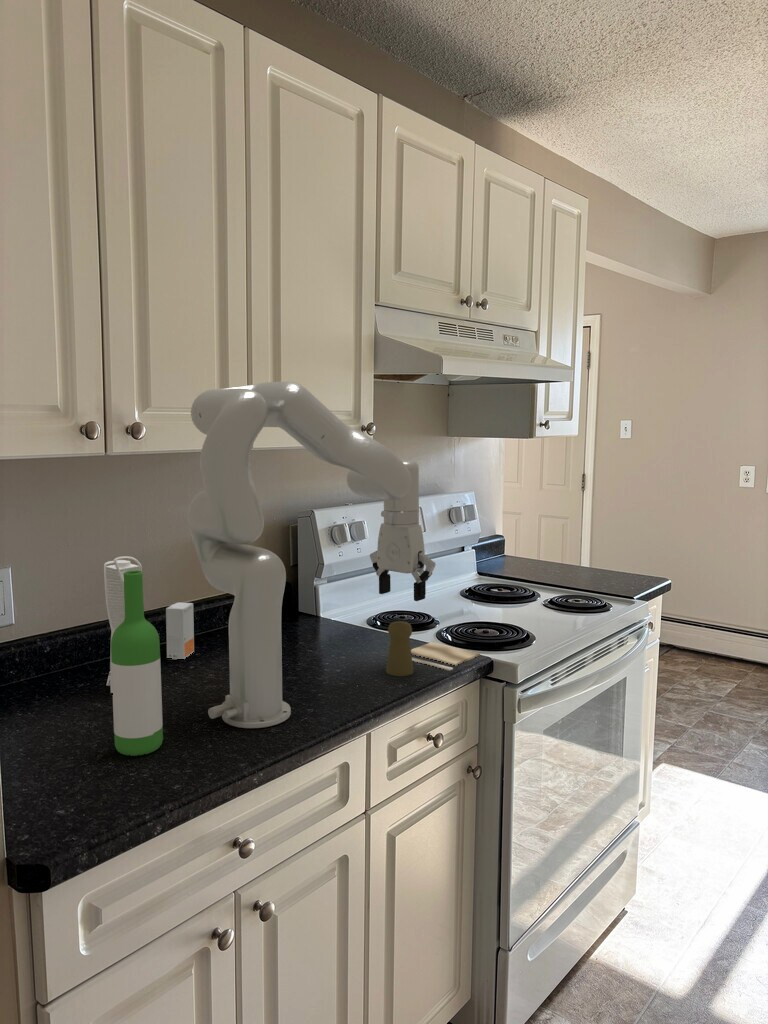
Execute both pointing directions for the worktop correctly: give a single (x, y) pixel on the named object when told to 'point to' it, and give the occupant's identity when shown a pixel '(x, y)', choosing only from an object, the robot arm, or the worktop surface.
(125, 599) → the wine bottle
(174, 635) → the skincare box
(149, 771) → the worktop surface
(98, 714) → the worktop surface
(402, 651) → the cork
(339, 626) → the worktop surface
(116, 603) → the skyscraper
